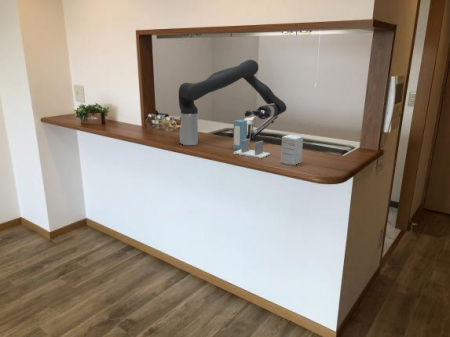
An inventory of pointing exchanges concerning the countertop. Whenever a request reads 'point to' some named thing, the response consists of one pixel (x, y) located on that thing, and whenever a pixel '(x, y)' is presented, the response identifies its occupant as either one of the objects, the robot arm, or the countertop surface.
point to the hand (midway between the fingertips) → (252, 115)
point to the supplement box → (291, 149)
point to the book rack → (256, 153)
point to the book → (239, 133)
